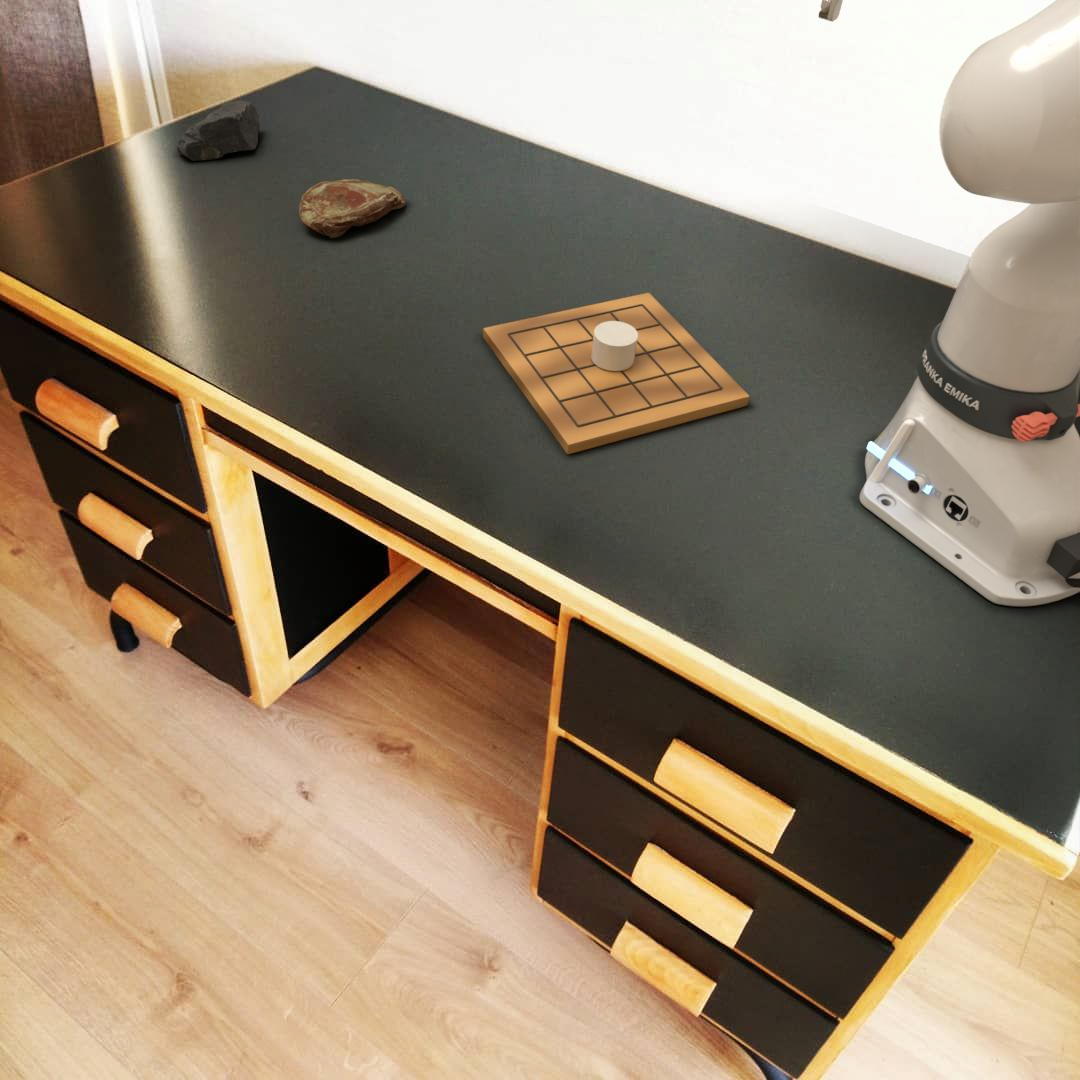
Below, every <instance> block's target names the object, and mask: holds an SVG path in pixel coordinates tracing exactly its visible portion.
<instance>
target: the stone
mask: <svg viewBox="0 0 1080 1080" xmlns="http://www.w3.org/2000/svg"><path fill="white" fill-rule="evenodd" d="M406 203H407V202H406V199H405V196H404V195H403V193H401V192H400V191H398V189H396V188H394V187H393V186H385V185H383V184H379V183H372V182H371V181H368V180H360V179H354V178H352V179H341V180H333V181H326V180H325V181H321V182H319V183H317V184H314V185H313V186H312V187H310V188H308V189H307V191H305V193H304V194H302V196H301V199H300V202H299V206H298V214H299V217H300V220H301V221H302V223H303V224H305V225H306V226H307V227H309V228H310V229H311V230H313V231H315V232H317V233H319V234H321V235H323V236H328V237H329V238H330V239H335V238H339V237H341V236H342V235H344V234H345V233H346V232H347V231H348V230H350V229H351V228H352V227H362V226H366V225H368V224H371V223H374V222H376V221H378V220H379V219H381V218H382V217H384V216H386V215H387V214H389V213H390V212H391V211H392V210H398V209H402V208H403V207H405V206H406Z"/></svg>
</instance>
